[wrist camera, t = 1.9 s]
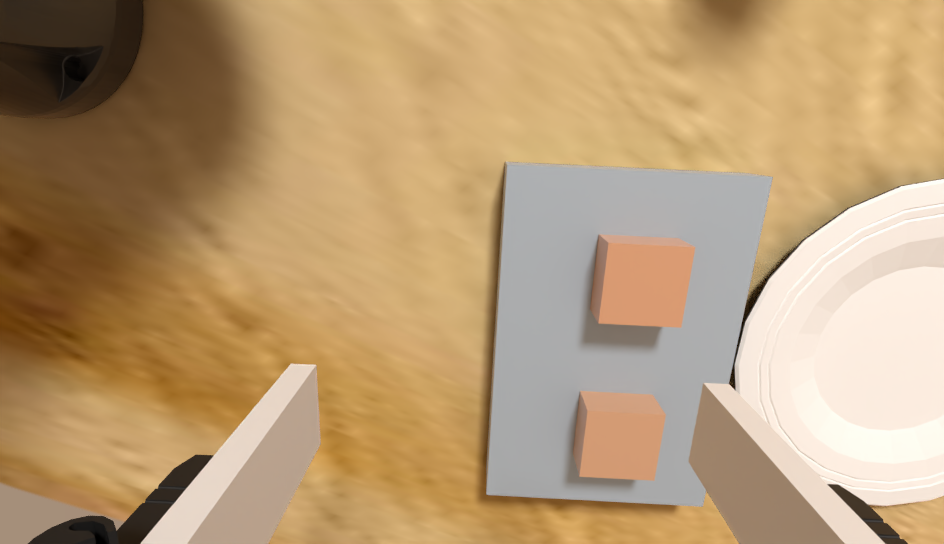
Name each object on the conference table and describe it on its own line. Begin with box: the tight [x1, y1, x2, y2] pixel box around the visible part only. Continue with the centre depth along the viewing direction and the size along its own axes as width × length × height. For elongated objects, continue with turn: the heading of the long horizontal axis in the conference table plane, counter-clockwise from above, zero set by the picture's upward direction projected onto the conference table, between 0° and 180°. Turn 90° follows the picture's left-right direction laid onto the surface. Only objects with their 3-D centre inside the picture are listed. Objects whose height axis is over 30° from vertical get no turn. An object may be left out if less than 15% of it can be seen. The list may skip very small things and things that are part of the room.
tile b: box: [573, 391, 666, 481], centre depth 33 cm, size 5×5×2 cm
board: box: [486, 162, 773, 507], centre depth 34 cm, size 16×24×3 cm, turn 177°
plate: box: [734, 179, 944, 506], centre depth 35 cm, size 25×25×2 cm
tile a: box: [590, 234, 695, 328], centre depth 30 cm, size 5×5×2 cm
